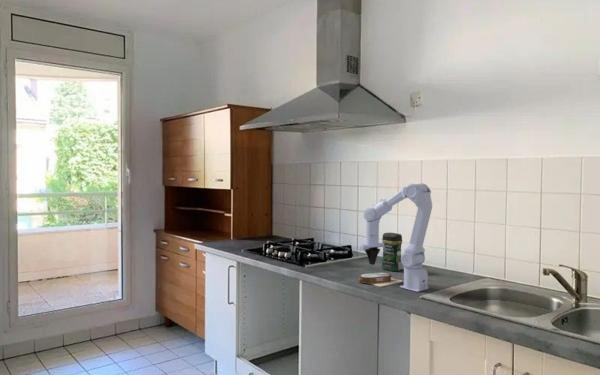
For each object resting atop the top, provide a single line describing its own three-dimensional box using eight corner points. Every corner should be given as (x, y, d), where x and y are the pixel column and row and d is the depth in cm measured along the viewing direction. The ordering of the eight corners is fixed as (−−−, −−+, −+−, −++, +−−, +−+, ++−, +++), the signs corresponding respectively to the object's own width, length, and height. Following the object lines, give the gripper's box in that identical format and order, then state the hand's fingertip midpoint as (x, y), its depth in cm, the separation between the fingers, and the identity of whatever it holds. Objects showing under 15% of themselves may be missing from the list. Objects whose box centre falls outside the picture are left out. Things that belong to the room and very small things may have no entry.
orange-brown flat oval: (355, 279, 196) (364, 285, 188) (355, 272, 195) (364, 278, 188) (385, 277, 201) (394, 282, 193) (385, 270, 200) (395, 275, 193)
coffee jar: (379, 269, 219) (379, 232, 219) (388, 266, 225) (388, 231, 224) (395, 272, 212) (395, 234, 212) (404, 270, 218) (404, 233, 217)
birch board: (403, 281, 194) (403, 280, 194) (381, 287, 185) (381, 286, 185) (386, 277, 202) (386, 276, 202) (364, 282, 192) (364, 281, 192)
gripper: (376, 232, 206) (376, 260, 206) (354, 234, 196) (354, 264, 197) (388, 233, 200) (387, 263, 201) (366, 236, 191) (366, 267, 191)
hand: (372, 264), depth 198 cm, fingers closed
